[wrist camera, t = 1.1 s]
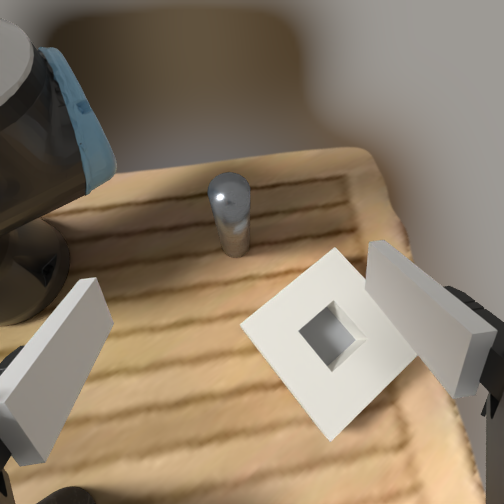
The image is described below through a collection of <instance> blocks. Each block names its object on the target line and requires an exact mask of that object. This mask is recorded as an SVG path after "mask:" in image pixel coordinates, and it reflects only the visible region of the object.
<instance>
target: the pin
mask: <svg viewBox="0 0 504 504" xmlns="http://www.w3.org/2000/svg"><path fill="white" fill-rule="evenodd" d="M208 197H209V200H210V204H211V208H212V212H213V216H214V219H215V223H216V227H217V231H218V235H219V238H220V242H221V246H222V249H223V251H224V253H225V254H226V255H228V256H229V257H233V258H238V257H242V256H243V255H245V254H246V253H247V252H248V250H249V247H250V186H249V183H248V182H247V180H246V179H245V178H244V177H243V176H241V175H239V174H236V173H232V172H227V173H222V174H220V175H218V176H216V177H215V178H214V179H213V180H212V181H211V182H210V184H209V187H208Z"/></svg>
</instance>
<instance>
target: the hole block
mask: <svg viewBox="0 0 504 504" xmlns="http://www.w3.org/2000/svg"><path fill="white" fill-rule="evenodd" d="M365 283H366V280H365V278H364V277H363V276H362V275H361V274H360V273H359V272H358V271H357V270H356V269H355V268H354V267H353V266H352V265H351V264H350V262H349V261H348V260H347V259H346V258H345V257H344V256H343V255H342V254H341V253H340V252H339V251H338V250H337V249H336V248H335V247H334V248H333V249H332V250H331V251H329V252H328V253H327V254H326V255H324V256H323V257H322V258H321V259H320V260H318V261H317V262H316V263H315V264H313V265H312V266H311V267H310V268H308V269H307V270H306V271H305V272H304V273H302V274H301V275H300V276H299V277H297V278H296V279H295V280H294V281H293V282H291V283H290V284H289V285H288V286H286V287H285V288H284V289H283V290H281V291H280V292H279V293H278V294H277V295H275V296H274V297H273V298H272V299H270V300H269V301H268V302H267V303H266V304H264V305H263V306H262V307H261V308H259V309H258V310H257V311H256V312H254V313H253V314H252V315H251V316H250V317H248V318H247V319H246V320H245V321H243V322H242V323H241V324H240V326H241V328H242V330H243V331H244V332H245V333H246V335H247V336H248V337H249V339H250V340H251V341H252V343H253V344H254V345H255V346H256V348H257V349H258V350H259V352H260V353H261V354H262V356H263V357H264V358H265V359H266V361H267V362H268V363H269V365H270V366H271V367H272V369H273V370H274V371H275V372H276V374H277V375H278V376H279V378H280V379H281V380H282V382H283V383H284V384H285V385H286V387H287V388H288V389H289V391H290V392H291V393H292V395H293V396H294V397H295V399H296V400H297V401H298V402H299V404H300V405H301V406H302V408H303V409H304V410H305V412H306V413H307V414H308V415H309V417H310V418H311V419H312V421H313V422H314V423H315V425H316V426H317V427H318V428H319V430H320V431H321V432H322V433H323V434H324V435H325V437H326V438H327V439H328V440H329V441H330V442H331V441H332V440H333V439H334V438H335V437H336V436H337V435H338V434H339V433H340V432H341V431H342V430H343V429H344V428H345V427H346V426H347V425H348V424H349V423H350V422H351V421H352V420H353V419H354V418H355V417H356V416H357V415H358V414H359V413H360V412H361V411H362V410H363V409H364V408H365V407H366V406H367V405H368V404H369V403H370V402H371V401H372V400H373V399H374V398H375V397H376V396H377V395H378V394H379V393H380V392H381V391H382V390H383V389H384V388H385V387H386V386H387V385H388V384H389V383H390V382H391V381H392V380H393V379H394V378H395V377H396V376H397V375H398V374H399V373H400V372H401V371H402V370H403V369H404V368H405V367H406V366H407V365H408V364H409V363H410V362H411V361H412V360H413V359H414V358H415V357H416V356H417V353H416V352H415V351H414V350H413V348H412V347H411V346H410V345H409V343H408V342H407V341H406V340H405V338H404V337H403V336H402V335H401V333H400V332H399V331H398V330H397V328H396V327H395V326H394V325H393V324H392V322H391V321H390V320H389V319H388V317H387V316H386V315H385V314H384V312H383V311H382V310H381V309H380V307H379V306H378V305H377V304H376V302H375V301H374V300H373V299H372V297H371V296H370V295H369V294H368V292H367V291H366V290H365Z"/></svg>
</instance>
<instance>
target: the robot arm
mask: <svg viewBox="0 0 504 504" xmlns="http://www.w3.org/2000/svg"><path fill="white" fill-rule="evenodd" d="M116 169H117V163H116V159H115V156H114V154H113V151H112V149H111V147H110V144H109V142H108V140H107V138H106V136H105V134H104V132H103V130H102V128H101V126H100V124H99V122H98V120H97V118H96V116H95V114H94V112H93V110H92V109H91V108H90V106H89V103H88V101H87V99H86V97H85V95H84V93H83V90H82V88H81V87H80V85H79V83H78V81H77V79H76V77H75V75H74V74H73V72H72V70H71V68H70V66H69V65H68V63H67V61H66V60H65V58H64V57H63V55H62V54H61V52H60V51H59V50H57V49H56V48H45V47H43V48H42V47H40V48H39V49H38V50H37V49H36V48H35V47H34V45H33V44H32V42H31V41H30V39H29V38H28V37H27V35H26V34H25V33H24V31H22V30H21V29H20V28H19V27H18V26H17V25H15V24H13V23H11V22H9V21H7V20H4V19H1V18H0V326H8V325H13V324H16V323H20V322H22V321H25V320H27V319H29V318H31V317H33V316H34V315H36V314H38V313H39V312H40V311H42V310H43V309H44V308H45V307H47V306H48V305H49V304H50V303H51V302H52V301H53V299H54V298H55V297H56V296H57V294H58V293H59V291H60V290H61V288H62V286H63V284H64V282H65V280H66V277H67V274H68V270H69V262H70V257H69V250H68V246H67V243H66V241H65V239H64V238H63V236H62V235H61V234H60V232H59V231H58V230H57V229H55V228H54V227H53V226H51V225H50V224H48V223H46V222H45V221H43V220H42V219H40V218H39V217H41V216H43V215H45V214H47V213H50V212H52V211H54V210H56V209H58V208H60V207H62V206H64V205H66V204H68V203H70V202H72V201H74V200H76V199H78V198H80V197H82V196H84V195H85V196H86V195H88V194H90V192H91V190H93V189H95V188H97V187H98V186H100V185H102V184H103V183H105V182H107V181H108V180H110V179H111V178H112V177H113V176H114V174H115V172H116ZM365 290H366V291H367V292H368V294H369V295H370V296H371V297H372V299H373V300H374V301H375V302H376V304H377V305H378V306H379V307H380V309H381V310H382V311H383V312H384V314H385V315H386V316H387V317H388V319H389V320H390V321H391V322H392V324H393V325H394V326H395V327H396V328H397V330H398V331H399V332H400V333H401V335H402V336H403V337H404V338H405V340H406V341H407V342H408V343H409V345H410V346H411V347H412V348H413V350H414V351H415V352H416V353H417V355H418V356H419V357H420V358H421V360H422V361H423V362H424V363H425V365H426V366H427V367H428V368H429V370H430V371H431V372H432V373H433V375H434V376H435V377H436V378H437V380H438V381H439V382H440V383H441V385H442V386H443V387H444V388H445V390H446V391H447V392H448V393H449V394H450V396H451V397H452V398H453V399H455V398H462V397H468V396H474V395H476V392H477V388H478V386H479V383H481V384H482V385H483V386H484V387H485V388H486V389H487V390H488V391H489V394H488V397H487V399H486V402H485V405H484V408H483V410H482V413H481V415H482V416H485V415H486V419H487V420H486V504H504V322H502V321H501V320H500V319H499V318H497V317H496V316H495V315H493V314H492V313H491V312H489V311H488V310H486V309H484V307H483V306H481V305H480V304H479V303H477V302H475V300H473V299H472V298H471V297H469V296H468V295H467V294H465V293H464V292H462V291H460V290H457V289H455V288H453V287H451V286H445V287H443V286H441V285H440V284H439V283H437V282H436V281H435V280H434V279H432V278H431V277H430V276H429V275H427V274H426V273H425V272H424V271H423V270H421V269H420V268H419V267H417V266H416V265H415V264H414V263H413V262H411V261H410V260H409V259H408V258H406V257H405V256H404V255H403V254H401V253H400V252H399V251H397V250H396V249H395V248H394V247H392V246H391V245H390V244H389V243H387V242H386V241H385V240H380V241H372V242H369V248H368V259H367V271H366V283H365ZM113 324H114V322H113V320H112V317H111V314H110V312H109V309H108V307H107V304H106V301H105V299H104V296H103V293H102V291H101V288H100V285H99V283H98V280H97V278H96V277H94V278H86V279H80V280H79V281H78V282H77V283H76V284H75V286H74V287H73V288H72V289H71V291H70V292H69V293H68V294H67V295H66V297H65V298H64V299H63V300H62V301H61V303H60V304H59V305H58V306H57V308H56V309H55V310H54V311H53V312H52V314H51V315H50V316H49V317H48V319H47V320H46V321H45V322H44V323H43V325H42V326H41V327H40V328H39V329H38V331H37V332H36V333H35V334H34V336H33V337H32V338H31V339H30V340H29V342H28V343H27V344H26V345H24V346H20V347H18V348H17V349H16V350H14V351H13V352H12V353H11V354H9V355H8V356H7V357H5V359H4V360H3V361H2V362H1V363H0V504H15V500H14V496H13V492H12V488H11V484H10V480H9V476H8V474H7V472H6V471H5V470H4V466H5V465H6V463H7V461H8V460H9V458H10V456H11V455H12V457H13V458H14V459H15V461H16V462H17V463H18V465H19V466H26V465H32V464H39V463H45V462H46V460H47V458H48V456H49V454H50V452H51V450H52V448H53V446H54V444H55V442H56V440H57V438H58V436H59V434H60V432H61V430H62V428H63V426H64V424H65V422H66V420H67V418H68V416H69V414H70V411H71V409H72V407H73V405H74V403H75V401H76V399H77V397H78V395H79V393H80V391H81V389H82V387H83V385H84V383H85V381H86V379H87V377H88V375H89V373H90V371H91V369H92V367H93V365H94V363H95V361H96V359H97V357H98V355H99V353H100V351H101V349H102V347H103V345H104V343H105V341H106V339H107V337H108V335H109V333H110V330H111V328H112V326H113Z"/></svg>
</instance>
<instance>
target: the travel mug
mask: <svg viewBox="0 0 504 504" xmlns="http://www.w3.org/2000/svg"><path fill="white" fill-rule="evenodd" d="M37 504H96V503H95V501H94V499H93V498H92V497H91V495H90V494H89V493H88V492H86V491H85V490H83V489H81V488H78V487H66V488H62V489H59V490H57V491H55V492H53V493H52V494H50V495H49V496H47V497H46V498H44V499H43V500H41V501H40V502H38V503H37Z"/></svg>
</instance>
